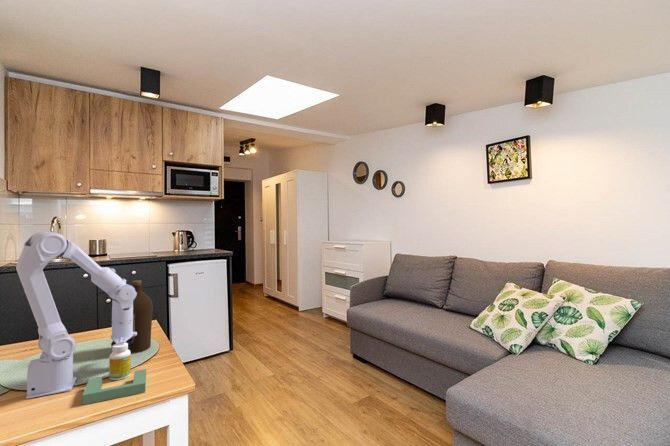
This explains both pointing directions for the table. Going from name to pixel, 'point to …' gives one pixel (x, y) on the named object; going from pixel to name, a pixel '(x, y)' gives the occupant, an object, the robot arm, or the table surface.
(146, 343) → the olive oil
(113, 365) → the supplement bottle
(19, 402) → the table surface
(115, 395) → the green u-shaped block
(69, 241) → the robot arm
